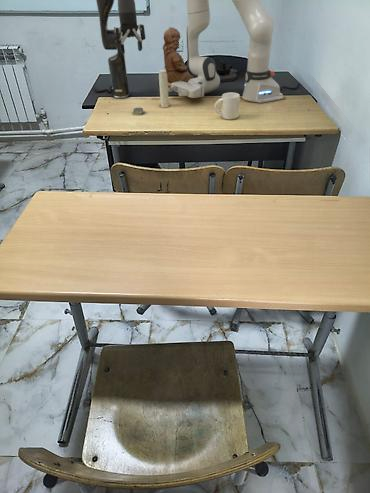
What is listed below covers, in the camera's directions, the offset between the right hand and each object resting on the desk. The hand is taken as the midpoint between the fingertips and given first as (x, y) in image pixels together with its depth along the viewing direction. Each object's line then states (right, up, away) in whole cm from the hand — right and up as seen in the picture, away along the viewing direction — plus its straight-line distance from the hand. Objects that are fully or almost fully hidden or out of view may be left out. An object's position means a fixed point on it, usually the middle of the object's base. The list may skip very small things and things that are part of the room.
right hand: (173, 92), depth 190 cm
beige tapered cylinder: (-5, -7, +1) cm, 8 cm away
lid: (-18, -12, -7) cm, 23 cm away
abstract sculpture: (+29, +27, +40) cm, 56 cm away
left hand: (-19, +9, -24) cm, 32 cm away
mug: (+26, -18, -14) cm, 35 cm away
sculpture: (+1, +21, +34) cm, 40 cm away
